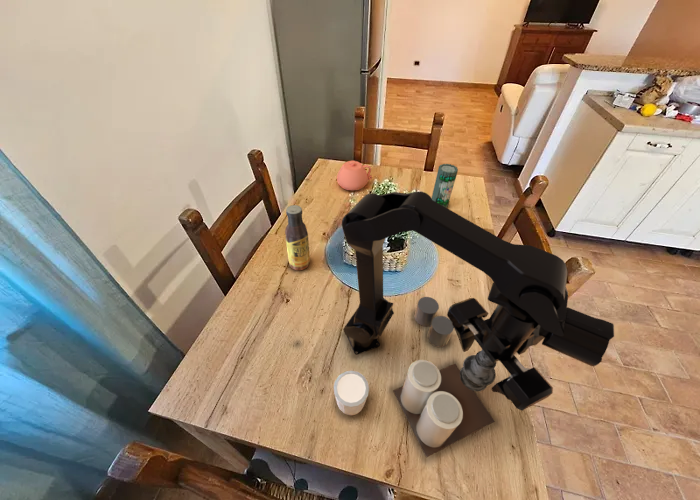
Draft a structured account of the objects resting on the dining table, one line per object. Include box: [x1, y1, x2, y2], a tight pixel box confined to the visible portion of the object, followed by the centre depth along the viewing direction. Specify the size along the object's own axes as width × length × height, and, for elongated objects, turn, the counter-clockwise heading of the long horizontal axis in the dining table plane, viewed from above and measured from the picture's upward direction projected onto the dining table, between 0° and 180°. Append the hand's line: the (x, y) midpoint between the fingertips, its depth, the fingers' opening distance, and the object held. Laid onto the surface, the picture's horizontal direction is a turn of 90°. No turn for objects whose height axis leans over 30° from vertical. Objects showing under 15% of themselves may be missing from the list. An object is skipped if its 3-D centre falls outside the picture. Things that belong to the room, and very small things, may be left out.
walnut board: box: [392, 363, 496, 458], centre depth 63 cm, size 16×13×1 cm
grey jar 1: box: [413, 296, 440, 327], centre depth 77 cm, size 5×5×6 cm
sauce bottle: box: [284, 204, 311, 271], centre depth 85 cm, size 7×6×20 cm
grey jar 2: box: [426, 315, 455, 348], centre depth 73 cm, size 5×5×6 cm
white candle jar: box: [333, 370, 370, 416], centre depth 62 cm, size 7×7×7 cm
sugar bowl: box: [336, 160, 373, 191], centre depth 120 cm, size 12×14×10 cm
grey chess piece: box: [460, 348, 497, 393], centre depth 56 cm, size 6×6×12 cm
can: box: [431, 163, 459, 209], centre depth 109 cm, size 6×6×15 cm
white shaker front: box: [416, 391, 463, 447], centre depth 56 cm, size 6×6×12 cm
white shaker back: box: [401, 359, 441, 414], centre depth 60 cm, size 6×6×12 cm
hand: (479, 369), depth 57 cm, fingers closed on grey chess piece, 8 cm apart
